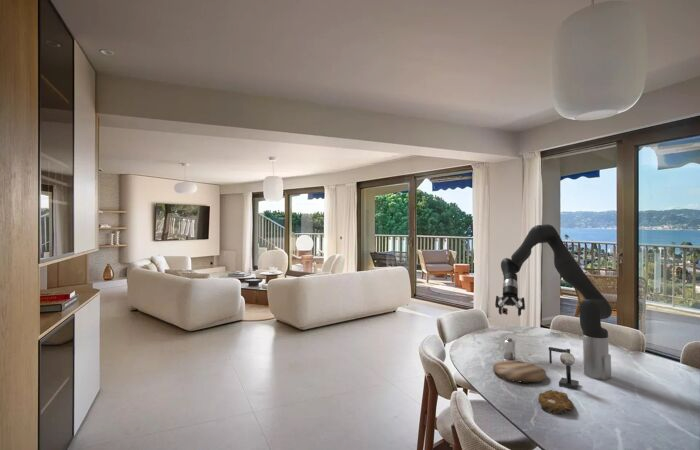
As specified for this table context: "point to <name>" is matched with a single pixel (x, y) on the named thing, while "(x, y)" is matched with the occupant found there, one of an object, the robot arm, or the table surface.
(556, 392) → the decorative rock
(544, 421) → the table surface
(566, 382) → the stand
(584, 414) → the table surface
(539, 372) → the disc
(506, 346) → the cover
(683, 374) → the table surface
